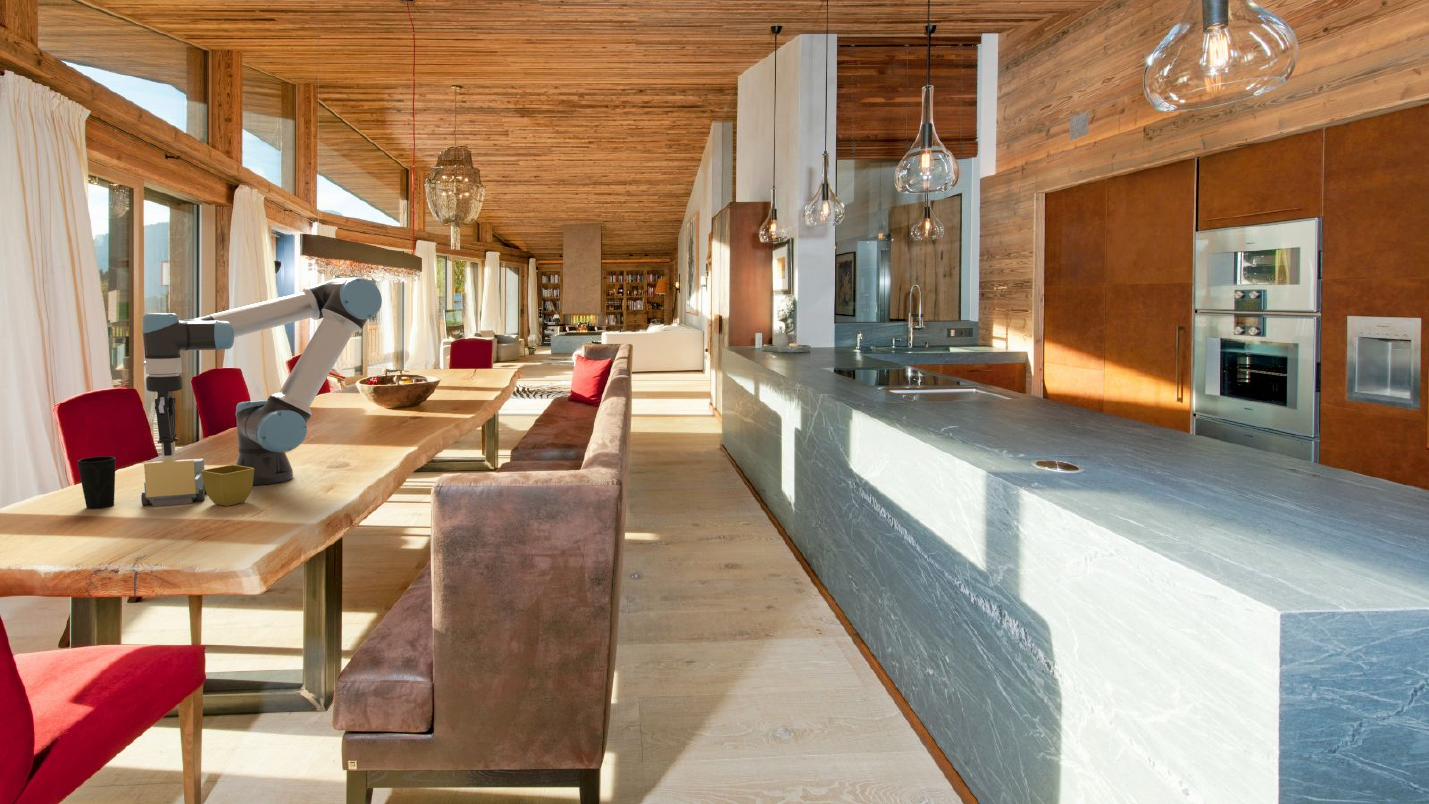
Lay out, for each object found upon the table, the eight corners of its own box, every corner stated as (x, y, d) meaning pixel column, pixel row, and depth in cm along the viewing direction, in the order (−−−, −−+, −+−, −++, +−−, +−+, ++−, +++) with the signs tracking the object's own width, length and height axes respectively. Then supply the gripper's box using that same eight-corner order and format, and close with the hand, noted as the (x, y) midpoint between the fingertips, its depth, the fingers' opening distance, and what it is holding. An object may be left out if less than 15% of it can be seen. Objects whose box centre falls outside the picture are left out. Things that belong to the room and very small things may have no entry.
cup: (99, 511, 203) (94, 462, 201) (73, 509, 204) (69, 461, 203) (126, 503, 210) (123, 457, 209) (101, 501, 212) (98, 455, 210)
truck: (209, 490, 225) (207, 458, 223) (202, 502, 212) (200, 467, 211) (151, 495, 219) (149, 461, 218) (141, 507, 207) (138, 472, 206)
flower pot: (257, 501, 214) (255, 467, 212) (225, 509, 206) (222, 474, 205) (234, 497, 217) (232, 464, 216) (202, 505, 209) (199, 470, 208)
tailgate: (196, 495, 212) (193, 459, 210) (195, 496, 211) (193, 460, 209) (147, 499, 207) (144, 462, 206) (146, 499, 206) (143, 463, 205)
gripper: (151, 373, 211) (157, 463, 214) (140, 377, 200) (146, 473, 202) (185, 372, 214) (191, 461, 217) (176, 377, 203) (182, 471, 205)
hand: (169, 467), depth 210 cm, fingers closed
